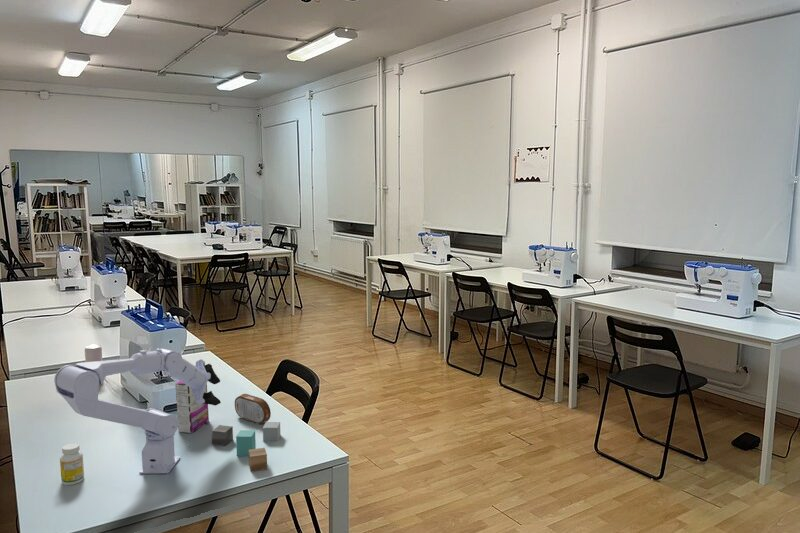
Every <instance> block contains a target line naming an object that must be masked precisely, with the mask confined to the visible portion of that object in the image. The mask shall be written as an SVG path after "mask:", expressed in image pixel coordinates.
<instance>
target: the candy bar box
mask: <svg viewBox="0 0 800 533" xmlns="http://www.w3.org/2000/svg"><path fill="white" fill-rule="evenodd" d="M207 384H208V383H207ZM207 384H206V387H205V391H204V393H205V392H206V393H208V385H207ZM175 397H176V411H177V413H176V414H177V418H178V421H179V425H178V428H177V431H178V433H182V434H183V433H185V434H192V433H194V432H195V431H196V430H198V429H199V428H200V427H201V426H203V425H204V424H206V423H207V422H208V421H209V420H210V418H209V404H200V405H197V404H196V403H195V398H194V395H193V393H192V390H191V388H190V387H189V386H187V385H186V384H184V383H182V382H181V381H179V380H178V382H176V383H175Z"/></svg>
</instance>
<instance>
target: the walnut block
mask: <svg viewBox="0 0 800 533" xmlns="http://www.w3.org/2000/svg"><path fill="white" fill-rule="evenodd" d="M248 467H249V471H250V472H251V473H252V472H258V471H265V470H268V454H267V451H266V448H265V447H259V448H256V449H251V450H249V456H248Z"/></svg>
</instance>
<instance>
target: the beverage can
mask: <svg viewBox="0 0 800 533" xmlns="http://www.w3.org/2000/svg"><path fill="white" fill-rule="evenodd" d="M102 349H103V348H102V345H100V344H90V345H89V344H88V345H86V346H85V347H84V362H94V361H103V350H102Z"/></svg>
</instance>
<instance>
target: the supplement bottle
mask: <svg viewBox="0 0 800 533" xmlns="http://www.w3.org/2000/svg"><path fill="white" fill-rule="evenodd" d="M80 449H81V448H80V444H79V443H76V442H74V443H68V444H65V445H63V446H62V447H61V453H62V454H61V455H60V457H59V464H60V465H59V466H60V478H61V483H62V484H63V485H66V486H71V485H72V486H73V485H77V484H78V483H81V482H82V481H83V480H84V479H85V470H84V467H85V466H84V456H83V455H84V454H83V452H82V451H80Z"/></svg>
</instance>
